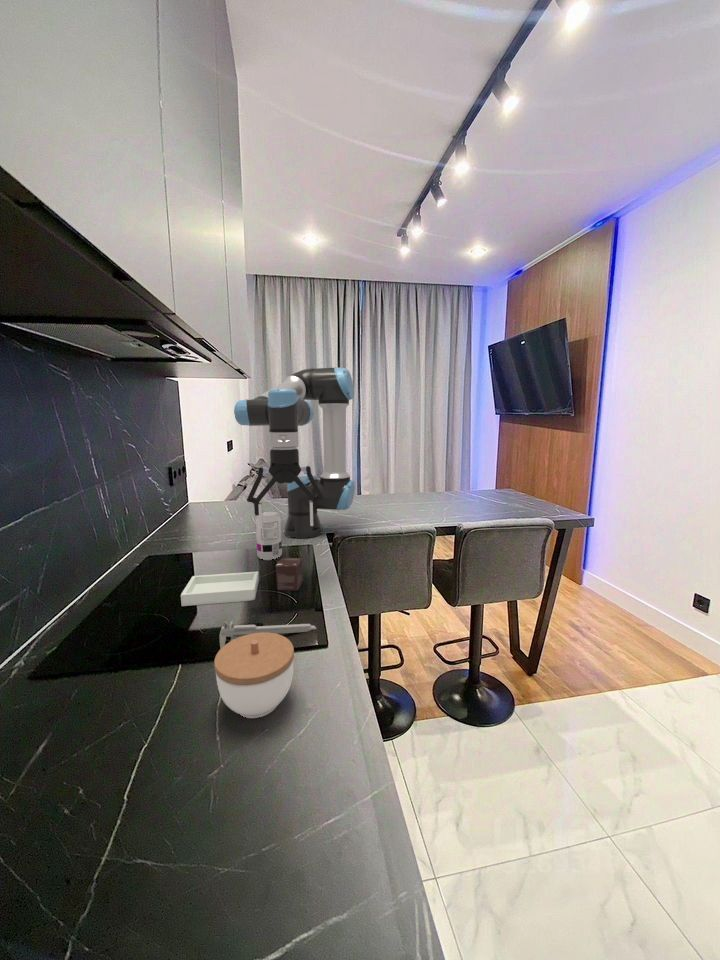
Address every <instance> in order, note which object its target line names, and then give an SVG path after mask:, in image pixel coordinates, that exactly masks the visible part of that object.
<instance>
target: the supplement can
mask: <svg viewBox="0 0 720 960" xmlns="http://www.w3.org/2000/svg"><path fill="white" fill-rule="evenodd" d="M255 537H256V552H257V553H256V554H257V555H256V556H257V558H258V559H260V560H261V559H263V560H262V561H273V560H272V559H274V560H277V559H279V558H280V557H281V556H282V555H283V547H282V546H283V545H282V523H281V516H280V514H279V512H278V511H272V510H270V511H268V510H267V511H263V528H259V516H255ZM278 557H279V558H278ZM276 558H277V559H276Z"/></svg>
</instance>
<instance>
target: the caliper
mask: <svg viewBox="0 0 720 960" xmlns="http://www.w3.org/2000/svg"><path fill="white" fill-rule="evenodd" d="M233 624H234V623H233V620H231V621H230V622H229V623H228V622H227V621H225V623H224V626H221V628H220V631H219V647H220V649H221V648H222V647H223V646H224V645H226V641H227V637H230V641H232V640H234V639H236V638H239V637H241V636H244V635H248V634H253V633H262V632H268V633H275V634H279V635H281V634H295V633H297V634H298V633H306V632H310V631H312V630H317V627H316V626H315V625H312V624H311V623H300V624H295V623H294V624H281V625H279V624H278V625H262V626H260V625H259V626H257V625H256V624H240V625H239V624H237V625H233ZM230 641H229V642H230ZM220 649H219V650H220Z"/></svg>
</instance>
